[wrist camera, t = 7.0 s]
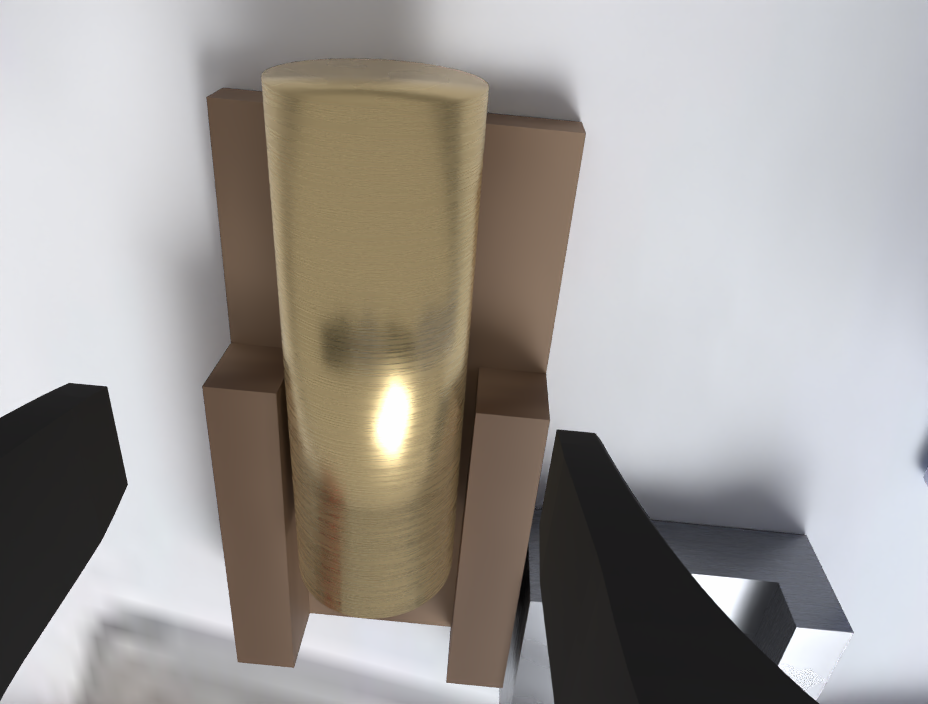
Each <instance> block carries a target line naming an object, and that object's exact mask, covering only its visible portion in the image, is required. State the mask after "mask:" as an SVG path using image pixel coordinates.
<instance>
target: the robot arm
mask: <svg viewBox="0 0 928 704" xmlns="http://www.w3.org/2000/svg"><path fill="white" fill-rule="evenodd" d="M924 480H925V483H926V484H927V485H928V467H927V469H926V471H925V474H924ZM127 485H128V483H127V478H126V474H125V469H124V464H123V459H122V455H121V450H120V445H119V440H118V436H117V431H116V426H115V421H114V417H113V412H112V407H111V403H110V398H109V393H108V388H107V387H106V386H95V385H85V384H74V383H68V384H66V385H64V386H62V387H59V388H57V389H55V390H53V391H51V392H49V393H47V394H45V395H43V396H41V397H39V398H37V399H35V400H33V401H31V402H29V403H27V404H25V405H23V406H21V407H20V408H18V409H16V410H14V411H12V412H10V413H8V414H6V415H5V416H3V417H1V418H0V700H1V698H2V697H3V695H4V693H5V691H6V689H7V688H8V686H9V684H10V683H11V681H12V679H13V678H14V676H15V674H16V673H17V671H18V669H19V668H20V666H21V664H22V663H23V661H24V660H25V658H26V657H27V655H28V654H29V652H30V650H31V649H32V647H33V646H34V644H35V643H36V641H37V640H38V638H39V637H40V635H41V634H42V632H43V631H44V629H45V628H46V626H47V625H48V623H49V621H50V620H51V618H52V617H53V615H54V614H55V612H56V611H57V609H58V608H59V606H60V605H61V603H62V602H63V600H64V599H65V597H66V595H67V594H68V592H69V591H70V589H71V588H72V586H73V585H74V583H75V582H76V580H77V579H78V577H79V575H80V574H81V572H82V571H83V569H84V568H85V566H86V565H87V563H88V561H89V560H90V558H91V557H92V555H93V554H94V552H95V550H96V549H97V547H98V546H99V544H100V542H101V541H102V539H103V537H104V535H105V533H106V531H107V529H108V527H109V525H110V523H111V521H112V519H113V517H114V514H115V512H116V510H117V508H118V505H119V503H120V501H121V499H122V496H123V494H124V492H125V490H126V487H127ZM539 563H540V589H541V598H542V606H543V615H544V623H545V631H546V639H547V648H548V656H549V664H550V672H551V680H552V688H553V697H554V704H819V703H818V702H817V701H816V700H814V699H813V698H812V697H811V696H810V695H809V694H808V693H806V692H805V691H804V690H803V689H802V688H801V687H800V686H799V685H798V684H796V683H795V682H794V681H793V680H792V679H791V678H790V677H789V676H788V675H787V674H786V673H785V672H784V671H783V670H781V669H780V668H779V667H778V666H777V665H776V664H775V663H774V662H773V661H772V660H771V659H770V658H769V657H768V656H766V655H765V654H764V653H763V652H762V651H761V650H760V649H759V648H758V647H757V646H756V645H755V644H754V643H753V642H752V641H751V640H750V639H749V638H748V637H747V636H746V635H745V634H744V633H743V632H742V631H741V630H740V629H739V628H738V627H737V626H736V624H735V623H734V622H733V621H732V620H731V619H730V618H729V617H728V616H727V615H726V614H725V613H724V611H723V610H722V609H721V608H720V607H719V606H718V605H717V604H716V603H715V602H714V600H713V599H712V598H711V597H710V596H709V595H708V594H707V592H706V591H705V590H704V589H703V588H702V586H701V585H700V584H699V583H698V582H697V580H696V579H695V578H694V577H693V576H692V574H691V573H690V572H689V570H688V569H687V568H686V567H685V565H684V564H683V563H682V562H681V560H680V559H679V558H678V557H677V555H676V554H675V553H674V551H673V550H672V549H671V547H670V546H669V545H668V543H667V542H666V541H665V539H664V538H663V537H662V535H661V534H660V532H659V531H658V529H657V528H656V527H655V525H654V524H653V522H652V521H651V519H650V518H649V517H648V515H647V514H646V512H645V511H644V509H643V508H642V507H641V505H640V504H639V502H638V500H637V499H636V497H635V496H634V494H633V493H632V491H631V490H630V488H629V487H628V485H627V483H626V482H625V480H624V479H623V477H622V475H621V474H620V472H619V471H618V469H617V467H616V466H615V464H614V462H613V461H612V459H611V457H610V455H609V454H608V452H607V450H606V449H605V447H604V445H603V443H602V442H601V440H600V439H599V437H598V436H597V435H596V434H595V433H589V432H578V431H568V430H557V431H556V437H555V442H554V448H553V453H552V458H551V464H550V469H549V475H548V480H547V486H546V491H545V496H544V502H543V507H542V513H541V518H540V524H539Z"/></svg>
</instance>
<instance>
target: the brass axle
mask: <svg viewBox="0 0 928 704" xmlns="http://www.w3.org/2000/svg"><path fill="white" fill-rule="evenodd" d="M261 81H262V93H263V106H264V119H265V132H266V145H267V158H268V170H269V183H270V196H271V209H272V222H273V235H274V247H275V260H276V273H277V286H278V299H279V312H280V324H281V337H282V350H283V363H284V376H285V389H286V402H287V414H288V427H289V440H290V453H291V466H292V479H293V491H294V504H295V517H296V530H297V543H298V556H299V567H300V574H301V577H302V580H303V582H304V584H305V586H306V588H307V589H308V590H309V592H310V593H311V594H312V595H313V596H314V597H315V598H316V599H317V600H318V601H319V602H320V603H322V604H323V605H325V606H326V607H328V608H330V609H332V610H334V611H336V612H339V613H341V614H344V615H348V616H352V617H358V618H370V619H376V618H387V617H392V616H397V615H400V614H404V613H407V612H409V611H411V610H414V609H416V608H418V607H419V606H421V605H423V604H425V603H426V602H427V601H429V600H430V599H431V598H432V597H433V596H434V595H435V594H437V593H438V592H439V590H440V589H441V588H442V586H443V585H444V583H445V582H446V580H447V578H448V576H449V573H450V570H451V565H452V555H453V543H454V530H455V517H456V504H457V491H458V478H459V465H460V452H461V439H462V427H463V414H464V401H465V388H466V375H467V362H468V349H469V336H470V324H471V311H472V298H473V285H474V272H475V259H476V246H477V233H478V221H479V208H480V195H481V182H482V169H483V156H484V143H485V130H486V118H487V105H488V92H489V85H488V83H487V82H486V81H485V80H483V79H482V78H480V77H478V76H475V75H473V74H470V73H467V72H463V71H460V70H456V69H452V68H447V67H442V66H436V65H431V64H424V63H416V62H407V61H396V60H382V59H318V60H306V61H298V62H291V63H286V64H281V65H277V66H274V67H271V68H269V69H267V70H265V71H264V72H263V73H262V75H261Z"/></svg>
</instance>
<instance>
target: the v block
mask: <svg viewBox="0 0 928 704" xmlns="http://www.w3.org/2000/svg"><path fill="white" fill-rule="evenodd" d="M541 513H542V509H534V513H533V519H532V525H531V530H530V536H529V542H528V547H527V553H526V559H525V564H524V570H523V576H522V581H521V587H520V593H519V598H518V604H517V610H516V615H515V621H514V627H513V632H512V638H511V644H510V649H509V655H508V661H507V666H506V672H505V677H504V683H503V688H499V704H554V697H553V688H552V680H551V672H550V664H549V656H548V648H547V639H546V631H545V623H544V615H543V606H542V598H541V589H540V563H539V524H540V518H541ZM651 521H652V522H653V524H654V525H655V527H656V528H657V529H658V531H659V532H660V534H661V535H662V537H663V538H664V539H665V541H666V542H667V543H668V545H669V546H670V547H671V549H672V550H673V551H674V553H675V554H676V555H677V557H678V558H679V559H680V560H681V562H682V563H683V564H684V565H685V567H686V568H687V569H688V570H689V572H690V573H691V574H692V576H693V577H694V578H695V579H696V580H697V582H698V583H699V584H700V585H701V586H702V588H703V589H704V590H705V591H706V592H707V594H708V595H709V596H710V597H711V598H712V599H713V600H714V602H715V603H716V604H717V605H718V606H719V607H720V608H721V609H722V610H723V611H724V613H725V614H726V615H727V616H728V617H729V618H730V619H731V620H732V621H733V622H734V623H735V624H736V626H737V627H738V628H739V629H740V630H741V631H742V632H743V633H744V634H745V635H746V636H747V637H748V638H749V639H750V640H751V641H752V642H753V643H754V644H755V645H756V646H757V647H758V648H759V649H760V650H761V651H762V652H763V653H764V654H765V655H766V656H768V657H769V658H770V659H771V660H772V661H773V662H774V663H775V664H776V665H777V666H778V667H779V668H780V669H781V670H783V671H784V672H785V673H786V674H787V675H788V676H789V677H790V678H791V679H792V680H793V681H794V682H795V683H796V684H798V685H799V686H800V687H801V688H802V689H803V690H804V691H805V692H806V693H808V694H809V695H810V696H811V697H812V698H813V699H814V700H816V701H817V699H818V697H819V695H820V694H821V692H822V690H823V688H824V686H825V684H826V683H827V681H828V679H829V677H830V675H831V674H832V672H833V670H834V668H835V666H836V665H837V663H838V661H839V659H840V657H841V655H842V654H843V652H844V650H845V648H846V646H847V645H848V643H849V641H850V639H851V637H852V636H853V634H854V632H853V630H852V628H851V626H850V624H849V622H848V620H847V618H846V616H845V614H844V612H843V610H842V607H841V605H840V603H839V601H838V599H837V597H836V595H835V593H834V591H833V589H832V587H831V585H830V583H829V581H828V579H827V577H826V575H825V573H824V570H823V568H822V566H821V564H820V562H819V560H818V558H817V556H816V554H815V552H814V550H813V548H812V546H811V544H810V542H809V540H808V538H807V536H806V535H799V534H788V533H778V532H768V531H757V530H747V529H737V528H727V527H716V526H706V525H696V524H686V523H675V522H665V521H655V520H651Z"/></svg>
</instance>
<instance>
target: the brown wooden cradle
mask: <svg viewBox="0 0 928 704" xmlns="http://www.w3.org/2000/svg"><path fill="white" fill-rule="evenodd" d="M207 107H208V117H209V127H210V137H211V147H212V157H213V167H214V177H215V187H216V197H217V207H218V217H219V227H220V237H221V247H222V257H223V267H224V277H225V287H226V297H227V307H228V317H229V327H230V336H231V344H230V345H229V347H228V348H227V350H226V351H225V353H224V354H223V356H222V357H221V359H220V361H219V362H218V364H217V365H216V367H215V368H214V370H213V371H212V373H211V374H210V376H209V377H208V379H207V380H206V382H205V383H204V385H203V386H202V388H203V396H204V404H205V411H206V419H207V427H208V435H209V442H210V450H211V458H212V466H213V473H214V481H215V489H216V497H217V504H218V512H219V520H220V528H221V535H222V543H223V551H224V559H225V566H226V574H227V582H228V590H229V598H230V605H231V613H232V621H233V629H234V636H235V644H236V652H237V660H238V662H242V663H252V664H262V665H272V666H282V667H292V668H294V666H295V663H296V659H297V656H298V652H299V649H300V645H301V642H302V638H303V635H304V631H305V628H306V624H307V621H308V617H309V614H310V613H316V614H326V615H336V616H347V617H352V616H348V615H344V614H341V613H339V612H336V611H334V610H332V609H330V608H328V607H326V606H325V605H323V604H322V603H320V602H319V601H318V600H317V599H316V598H315V597H314V596H313V595H312V594H311V593H310V592H309V590H308V589H307V588H306V586H305V584H304V582H303V580H302V577H301V574H300V567H299V556H298V543H297V530H296V517H295V504H294V491H293V479H292V466H291V453H290V440H289V427H288V414H287V402H286V389H285V376H284V363H283V350H282V337H281V324H280V312H279V299H278V286H277V273H276V260H275V247H274V235H273V222H272V209H271V196H270V183H269V170H268V158H267V145H266V132H265V119H264V106H263V93H262V92H261V91H251V90H240V89H230V88H222V89H220V90H218V91H216V92H215V93H213V94H211V95H209V96H208V97H207ZM585 135H586V133H585V130H584V127H583V124H582V122H576V121H565V120H555V119H544V118H534V117H523V116H513V115H503V114H492V113H487V118H486V130H485V143H484V156H483V169H482V182H481V195H480V208H479V221H478V233H477V246H476V259H475V272H474V285H473V298H472V311H471V324H470V336H469V349H468V362H467V375H466V388H465V401H464V414H463V427H462V439H461V452H460V465H459V478H458V491H457V504H456V517H455V530H454V543H453V555H452V565H451V570H450V573H449V576H448V578H447V580H446V582H445V583H444V585H443V586H442V588H441V589H440V590H439V592H438V593H437V594H435V595H434V596H433V597H432V598H431V599H430V600H429V601H427V602H426V603H425V604H423V605H421V606H419V607H418V608H416V609H414V610H411V611H409V612H407V613H404V614H400V615H397V616H392V617H387V618H376V619H377V620H387V621H398V622H408V623H418V624H428V625H438V626H449V627H451V631H450V643H449V655H448V668H447V680H446V683H455V684H465V685H476V686H486V687H496V688H503V683H504V677H505V672H506V666H507V661H508V655H509V649H510V644H511V638H512V632H513V627H514V621H515V615H516V610H517V604H518V598H519V593H520V587H521V581H522V576H523V570H524V564H525V559H526V553H527V547H528V542H529V536H530V530H531V525H532V519H533V513H534V508H535V502H536V496H537V491H538V485H539V479H540V474H541V468H542V462H543V457H544V451H545V445H546V440H547V434H548V428H549V423H550V415H549V403H548V392H547V380H546V370H547V364H548V358H549V352H550V346H551V340H552V334H553V328H554V322H555V316H556V310H557V304H558V298H559V292H560V286H561V280H562V274H563V268H564V262H565V256H566V250H567V244H568V238H569V232H570V226H571V220H572V214H573V208H574V201H575V195H576V189H577V183H578V177H579V171H580V165H581V159H582V153H583V147H584V141H585ZM357 618H358V617H357ZM367 619H370V618H367Z"/></svg>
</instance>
